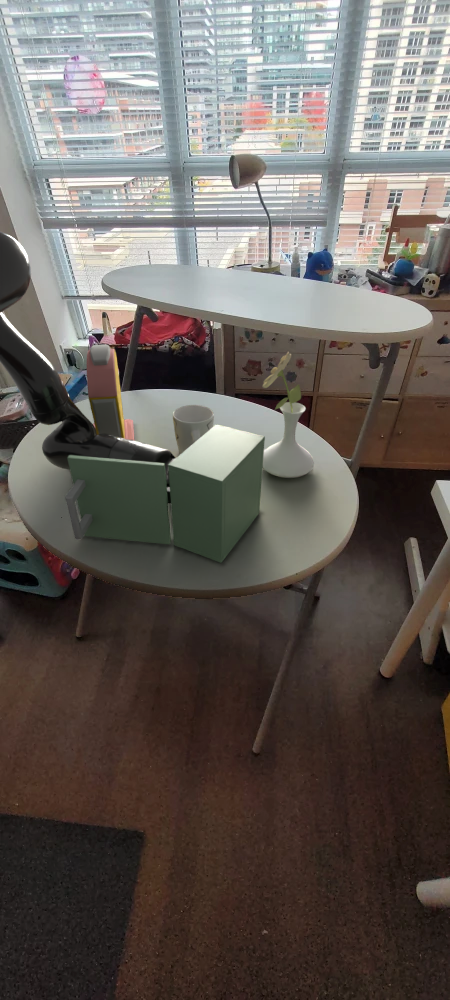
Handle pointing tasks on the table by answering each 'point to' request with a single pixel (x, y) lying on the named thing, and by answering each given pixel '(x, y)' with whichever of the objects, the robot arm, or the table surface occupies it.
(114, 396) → the yellow alarm clock
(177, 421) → the mug
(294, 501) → the table surface
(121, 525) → the cupboard door
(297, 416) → the flower in vase
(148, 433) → the table surface
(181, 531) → the cupboard
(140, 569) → the table surface
